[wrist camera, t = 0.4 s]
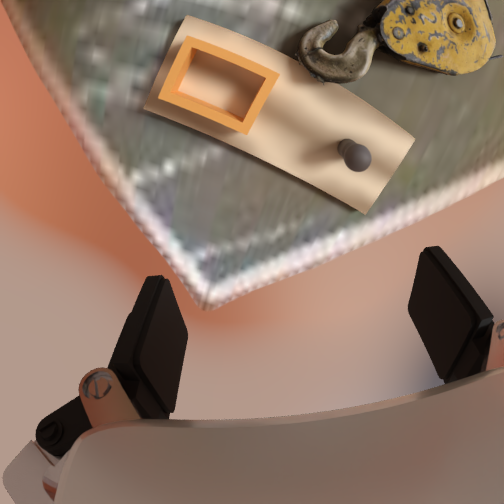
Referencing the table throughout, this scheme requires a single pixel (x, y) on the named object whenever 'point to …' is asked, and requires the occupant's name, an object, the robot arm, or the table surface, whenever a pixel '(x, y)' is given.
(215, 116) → the link
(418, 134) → the table surface
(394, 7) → the pulley block
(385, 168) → the keeper board
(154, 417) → the robot arm
